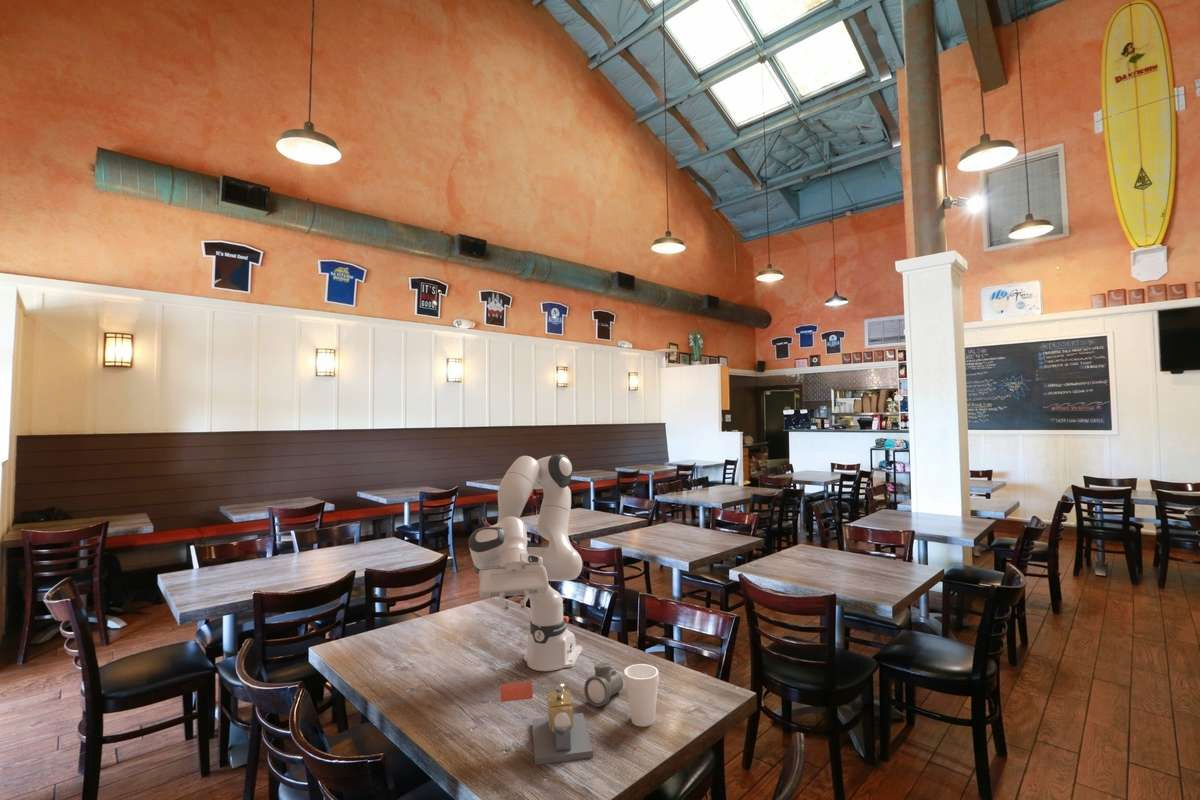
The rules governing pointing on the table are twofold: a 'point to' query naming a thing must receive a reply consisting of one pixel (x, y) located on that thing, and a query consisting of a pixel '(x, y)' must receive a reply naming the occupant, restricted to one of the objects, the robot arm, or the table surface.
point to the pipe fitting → (602, 684)
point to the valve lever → (527, 690)
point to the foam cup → (642, 693)
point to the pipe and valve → (561, 718)
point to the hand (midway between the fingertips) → (514, 608)
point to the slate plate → (546, 741)
